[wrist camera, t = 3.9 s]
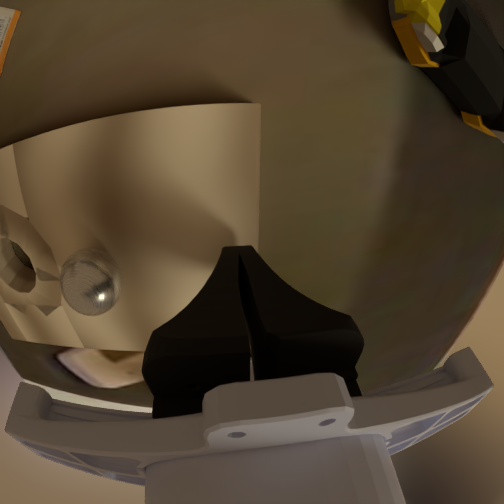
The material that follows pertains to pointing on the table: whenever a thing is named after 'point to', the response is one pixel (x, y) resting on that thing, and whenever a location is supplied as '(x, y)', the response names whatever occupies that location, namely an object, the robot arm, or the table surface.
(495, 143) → the table surface
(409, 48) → the gaming controller
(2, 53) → the supplement box
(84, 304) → the ball
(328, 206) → the table surface
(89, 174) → the beige flat block
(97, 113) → the table surface
